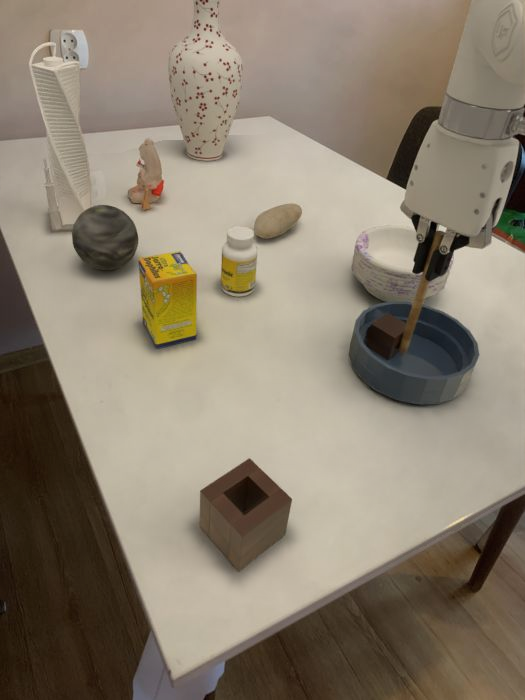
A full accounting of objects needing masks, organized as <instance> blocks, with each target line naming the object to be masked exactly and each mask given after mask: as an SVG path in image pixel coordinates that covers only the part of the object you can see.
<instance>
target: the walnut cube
mask: <svg viewBox="0 0 525 700" xmlns="http://www.w3.org/2000/svg"><path fill="white" fill-rule="evenodd" d="M405 327H406V323H405V322H403V321H401V320H399V319H398V318H396V317H394V316H392V315H391V314H389V313H387V314H386V315H384V316H382V317H381V318H379V319H378V320H376V321H375V322H373V323H371V326H370V330H369V334H368V337H367V341H366V346H367V347H368V348H369V349H371V350H372V351H374V352H376V353H377V354H379V355H380V356H382V357H384V358H385V359H387V360H389V359H391V358H392V357H394V356H395V355H396V354H398V353H399V351H398V349H399V346H400V342H401V339H402V336H403V333H404V330H405Z"/></svg>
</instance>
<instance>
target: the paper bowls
mask: <svg viewBox="0 0 525 700" xmlns="http://www.w3.org/2000/svg"><path fill="white" fill-rule="evenodd" d="M418 243H419V242H418V241H417V240H416V230H415V228H414V227H409V226H403V225H380V226H379V225H378V226H375V227H371V228H368V229H366V230H364V231H362V232H361V233H360V234H359V236H358V237H357V238H356V241H355V244H354V250H353V254H352V260H351V261H352V262H351V270H352V273H353V275H354V276H355V278H356V279H357V280H358V281H359V282H360V283H361V284H363V286H364V288H365V290H366V291H367V292H368V293H369V294H371V296H373V297H375V298H377V299H378V300H380V301H383V302H389V301H397V302H412V303H413V301H414V298H415V295H416V292H417V289H418V285H419V282H420V279H421V276H422V273H423V272H421V273H419V274H414V273H413V272H412V270H413V267H414V264H415V262H414V261H413V260H414V256H415V253H416V250H417V246H418ZM454 259H455V258H454V255H453V256H452V259H451V262H450V264H449V267H448V270H447V272H446V273H445V274H444V275H442V276H439V277H437V278H436V279H434V280H432V281H430V284H429V287H428V290H427V293H426V296H425V298H429V297H433V296H435V295H437V294H439V293H440V292H441V291H442V290H443V289H444V288H445V286H446V284H447V283H448V282H447V281H448V278H449V276H450V274H451V269H452V266H453V264H454Z"/></svg>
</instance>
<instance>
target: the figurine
mask: <svg viewBox="0 0 525 700" xmlns="http://www.w3.org/2000/svg"><path fill="white" fill-rule="evenodd" d="M154 143H155V142H154V140H153V139H152V138H145V140H144V141H143V143H141V144H140V145H139V147H138V151H139V157H140V158H139V160H138V161H137V163H135V165H136V167H138V168H139V172H138V174H137V179H136V185H135V186H132V187H130V188H129V189H128V190H127V194H126V195H127V197H128V198H129V199H130V201H131V202H132V203H133V204H141V210H142V211H145V210H151V209H152V207H151V204H153V203H156V202H157V201H159V200H160V198H161V196H162V193H163V189H164V184H165V180H164V179H163V176H162V175H163V171H162V169H163V168H162V164H161V160H160V157H159V153H158V151H157V149H156V147H155V145H154ZM141 160H142V161H143V162H144V164H143V163H142V161H141Z"/></svg>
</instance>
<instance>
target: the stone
mask: <svg viewBox="0 0 525 700" xmlns="http://www.w3.org/2000/svg"><path fill="white" fill-rule="evenodd" d="M302 214H303V209H302V207H301V205H300V204H297V203H284V204H280V205H277V206H273V207H271V208H269V209H266V210H265V211H263V212H262V213H260V214H258V216H257V217H256V219H255V221H254V224H253V232H254V234H255V235H256V236H257V237H259V238H262V239H273V238H276V237H279V236H281V235H283V234H285V233H287V232H288V231H289V230H290V229H291V228H293V227H294V226H295V225H296V224H297V223H298V222H299V220H300V219H301V217H302Z"/></svg>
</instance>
